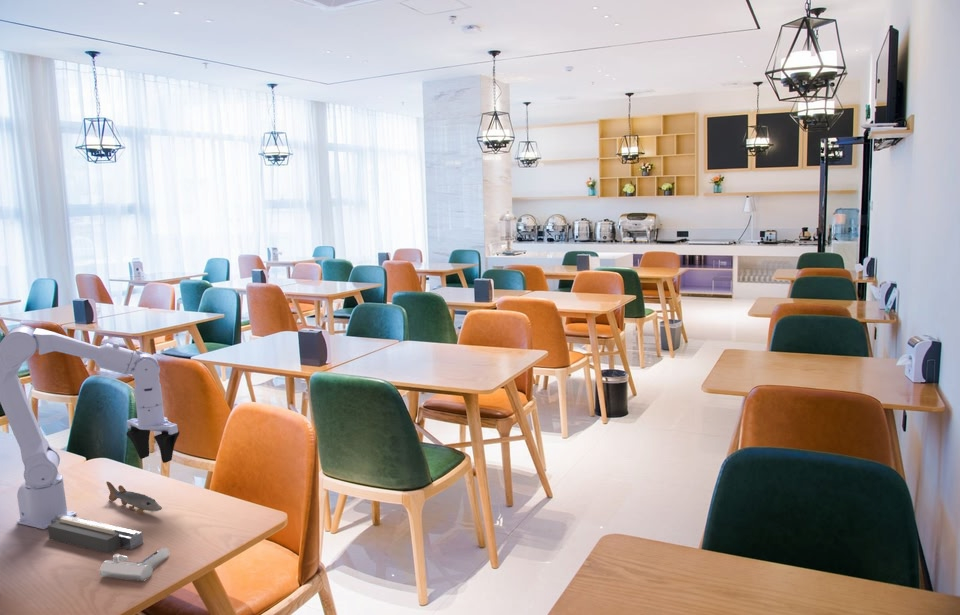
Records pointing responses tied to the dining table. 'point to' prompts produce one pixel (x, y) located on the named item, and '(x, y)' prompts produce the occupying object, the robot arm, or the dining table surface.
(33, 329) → the robot arm
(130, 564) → the silver l-shaped piece
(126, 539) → the rail
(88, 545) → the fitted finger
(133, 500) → the fish
